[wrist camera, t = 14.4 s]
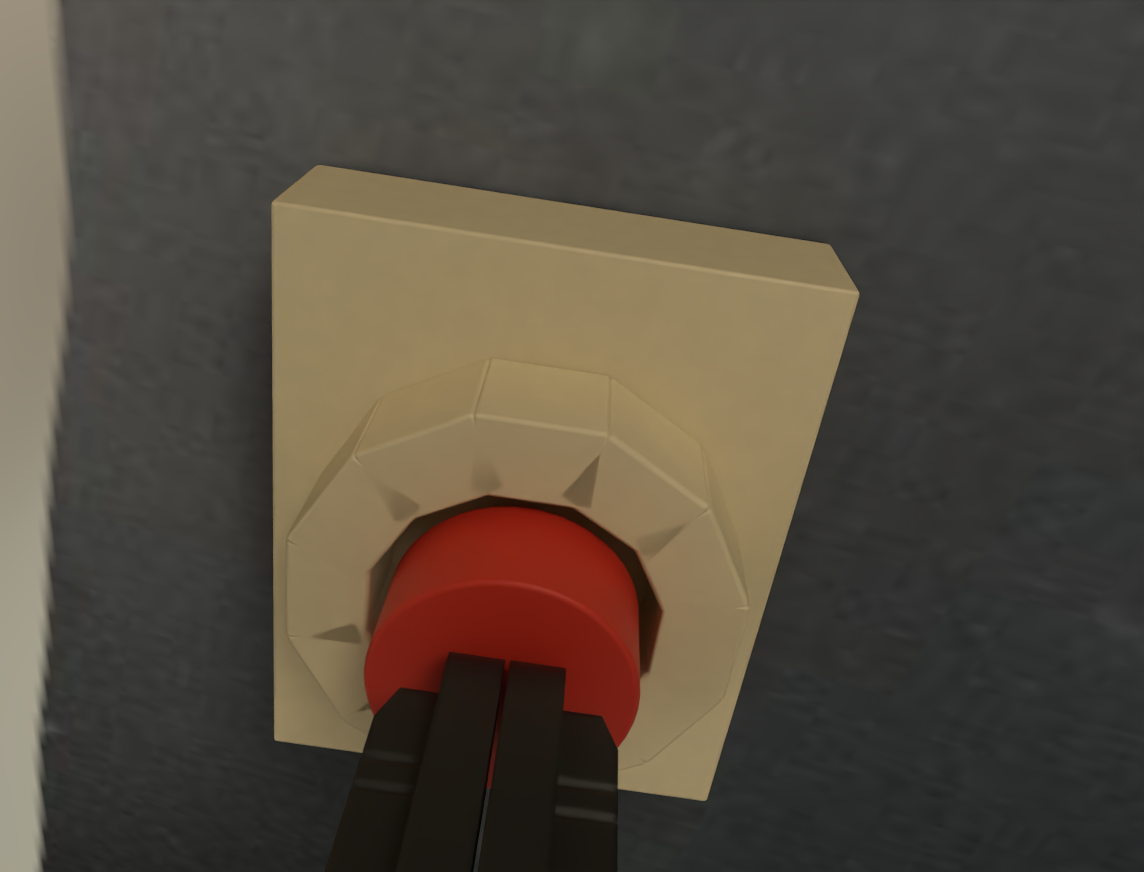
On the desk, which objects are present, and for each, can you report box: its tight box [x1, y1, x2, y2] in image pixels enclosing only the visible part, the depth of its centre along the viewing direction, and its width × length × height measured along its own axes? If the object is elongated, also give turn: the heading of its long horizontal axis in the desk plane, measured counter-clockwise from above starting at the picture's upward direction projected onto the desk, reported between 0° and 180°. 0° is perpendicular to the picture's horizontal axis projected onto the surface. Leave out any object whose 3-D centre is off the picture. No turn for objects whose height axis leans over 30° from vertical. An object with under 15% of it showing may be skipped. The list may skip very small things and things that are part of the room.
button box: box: [271, 165, 859, 801], centre depth 16 cm, size 10×8×4 cm
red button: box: [364, 506, 640, 788], centre depth 13 cm, size 4×4×2 cm
